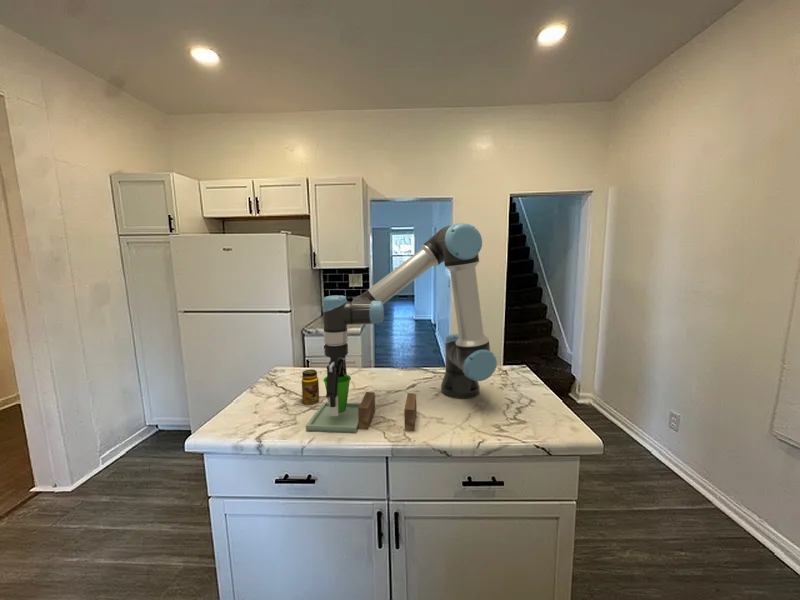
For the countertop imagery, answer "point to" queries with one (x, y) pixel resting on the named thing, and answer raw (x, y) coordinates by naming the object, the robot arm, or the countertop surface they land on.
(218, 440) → the countertop surface
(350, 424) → the tray
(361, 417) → the holder
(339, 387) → the cup
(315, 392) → the condiment
